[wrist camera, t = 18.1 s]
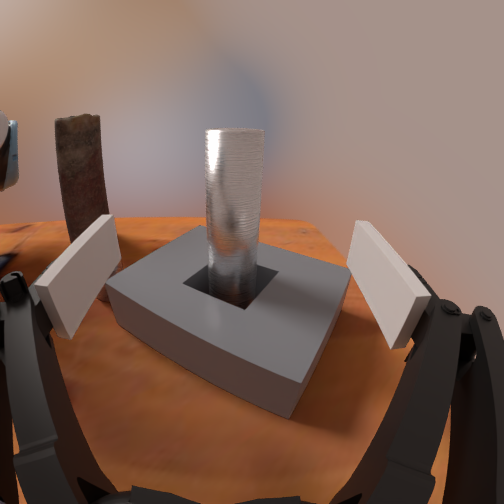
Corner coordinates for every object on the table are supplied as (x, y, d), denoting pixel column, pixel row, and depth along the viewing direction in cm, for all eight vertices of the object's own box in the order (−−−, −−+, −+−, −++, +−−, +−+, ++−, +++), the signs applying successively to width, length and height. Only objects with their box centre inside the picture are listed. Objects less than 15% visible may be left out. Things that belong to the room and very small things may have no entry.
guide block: (117, 323, 24) (104, 281, 22) (201, 261, 35) (199, 225, 32) (288, 419, 17) (301, 383, 14) (341, 309, 28) (352, 269, 25)
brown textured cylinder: (88, 228, 42) (74, 115, 32) (121, 230, 42) (110, 108, 32) (63, 249, 36) (42, 121, 26) (97, 253, 35) (78, 112, 25)
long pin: (202, 325, 25) (193, 130, 17) (226, 302, 28) (227, 127, 20) (239, 342, 23) (245, 133, 15) (260, 316, 26) (274, 130, 18)
